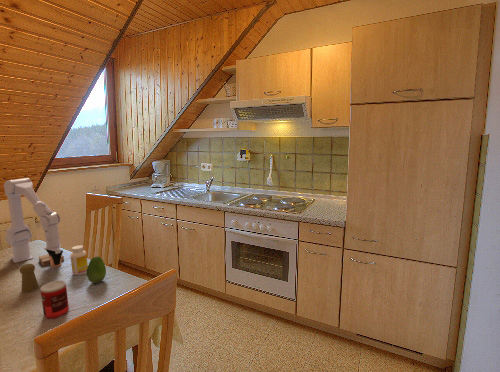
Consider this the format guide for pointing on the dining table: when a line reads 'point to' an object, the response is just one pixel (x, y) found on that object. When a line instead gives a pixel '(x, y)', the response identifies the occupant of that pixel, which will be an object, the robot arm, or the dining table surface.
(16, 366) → the dining table surface
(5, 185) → the robot arm
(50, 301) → the canned food
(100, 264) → the fruit
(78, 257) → the supplement bottle
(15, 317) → the dining table surface
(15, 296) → the dining table surface
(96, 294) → the dining table surface
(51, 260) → the tan rounded cylinder
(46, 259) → the walnut board
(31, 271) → the cork
